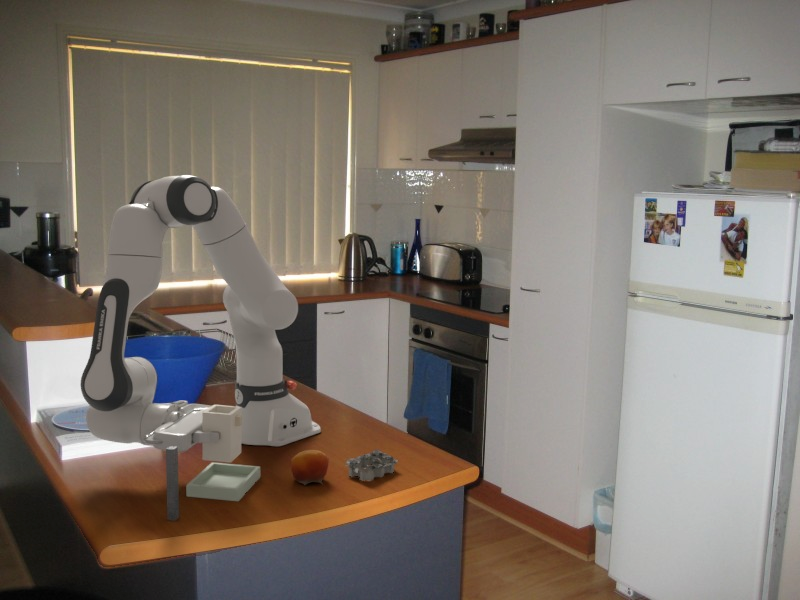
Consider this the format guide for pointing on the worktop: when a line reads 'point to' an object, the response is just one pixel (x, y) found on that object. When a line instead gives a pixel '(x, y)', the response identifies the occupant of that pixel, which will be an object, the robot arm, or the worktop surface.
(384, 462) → the egg carton
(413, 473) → the worktop surface
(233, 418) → the white square cup
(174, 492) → the post
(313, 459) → the fruit
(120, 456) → the worktop surface
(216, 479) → the tray
